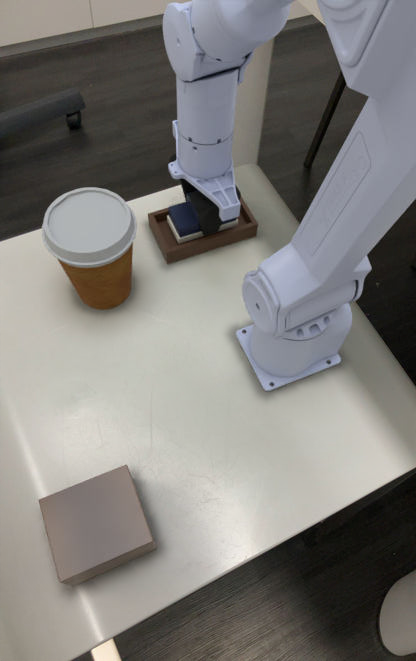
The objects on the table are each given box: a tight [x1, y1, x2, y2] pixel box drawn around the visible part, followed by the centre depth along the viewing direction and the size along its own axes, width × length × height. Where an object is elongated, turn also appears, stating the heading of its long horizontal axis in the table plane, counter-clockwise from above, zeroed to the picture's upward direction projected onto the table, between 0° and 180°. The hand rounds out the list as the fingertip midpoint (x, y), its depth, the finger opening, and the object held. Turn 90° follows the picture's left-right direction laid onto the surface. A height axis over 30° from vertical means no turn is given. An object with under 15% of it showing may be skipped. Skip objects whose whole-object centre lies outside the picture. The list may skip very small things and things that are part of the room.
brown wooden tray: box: [147, 196, 259, 265], centre depth 65 cm, size 12×7×2 cm, turn 113°
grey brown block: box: [38, 464, 157, 587], centre depth 46 cm, size 8×7×5 cm
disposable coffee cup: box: [41, 186, 138, 310], centre depth 56 cm, size 10×10×12 cm
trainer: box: [167, 190, 238, 244], centre depth 62 cm, size 8×4×5 cm, turn 113°
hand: (203, 218), depth 64 cm, fingers closed on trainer, 4 cm apart
